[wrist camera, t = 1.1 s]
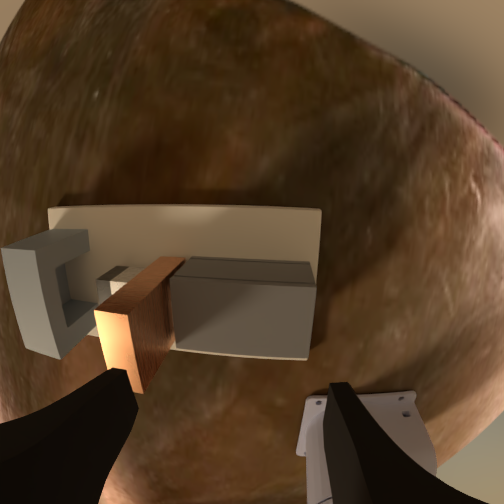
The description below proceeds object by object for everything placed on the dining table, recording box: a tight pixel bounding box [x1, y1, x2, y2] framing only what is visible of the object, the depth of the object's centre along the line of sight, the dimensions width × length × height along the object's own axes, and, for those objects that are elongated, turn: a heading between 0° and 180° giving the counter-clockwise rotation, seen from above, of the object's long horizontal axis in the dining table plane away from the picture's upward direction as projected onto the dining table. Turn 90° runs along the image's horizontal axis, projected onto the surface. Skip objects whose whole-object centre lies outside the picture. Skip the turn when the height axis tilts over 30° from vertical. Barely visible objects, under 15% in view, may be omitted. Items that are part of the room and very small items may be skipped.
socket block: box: [1, 229, 98, 360], centre depth 17 cm, size 4×7×6 cm, turn 179°
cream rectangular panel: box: [48, 204, 322, 360], centre depth 18 cm, size 19×10×5 cm, turn 89°
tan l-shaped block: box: [94, 256, 186, 394], centre depth 15 cm, size 12×4×8 cm, turn 89°
